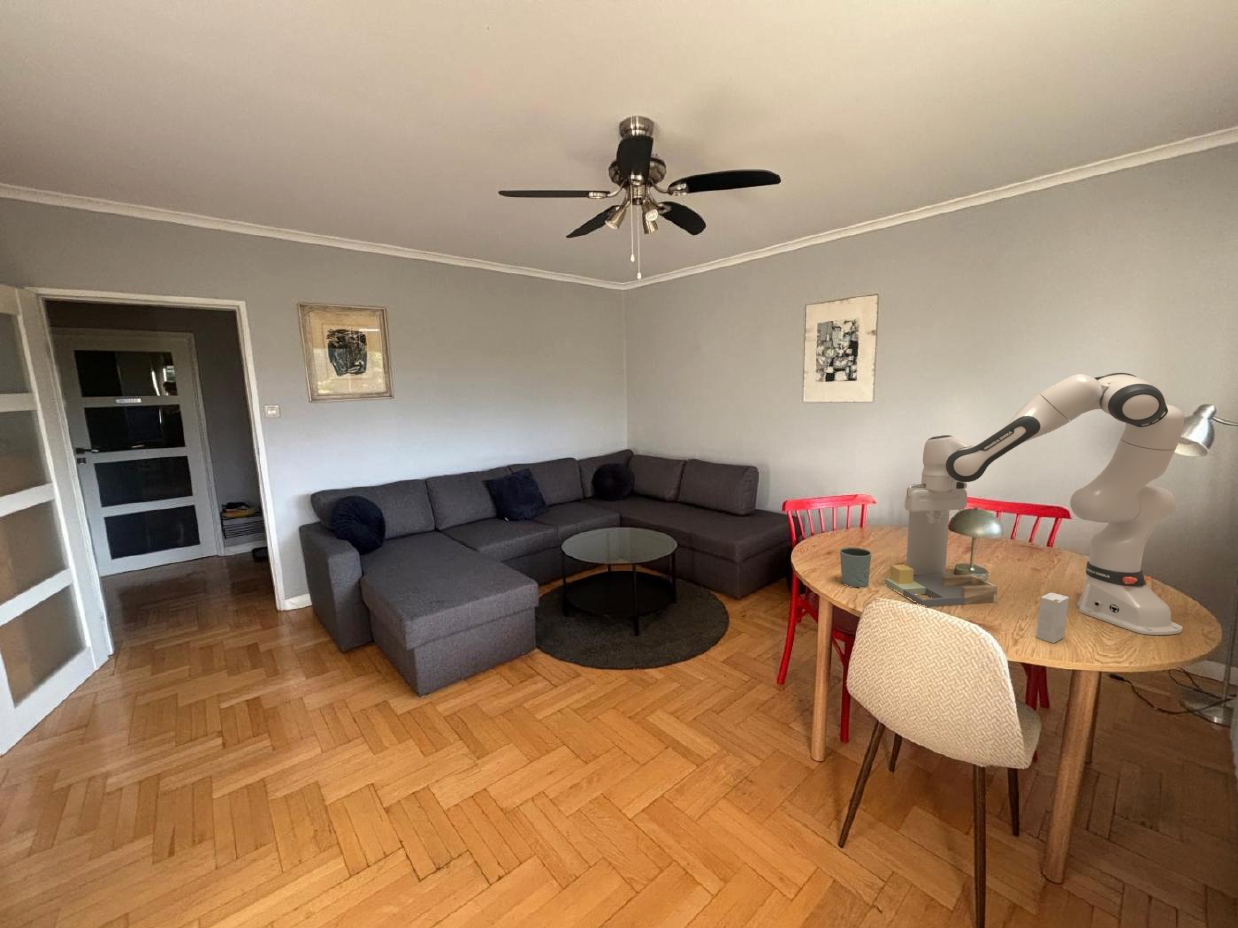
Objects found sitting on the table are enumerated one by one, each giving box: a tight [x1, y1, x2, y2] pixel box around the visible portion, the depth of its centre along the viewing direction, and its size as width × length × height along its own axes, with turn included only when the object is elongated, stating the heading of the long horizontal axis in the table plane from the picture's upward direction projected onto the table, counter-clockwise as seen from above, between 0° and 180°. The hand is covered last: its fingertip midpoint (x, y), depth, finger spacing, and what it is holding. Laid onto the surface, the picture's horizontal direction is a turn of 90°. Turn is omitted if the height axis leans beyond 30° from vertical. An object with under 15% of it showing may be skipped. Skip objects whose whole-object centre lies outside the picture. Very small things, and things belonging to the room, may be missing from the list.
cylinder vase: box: [905, 510, 951, 576], centre depth 183 cm, size 12×12×25 cm
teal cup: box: [839, 546, 872, 588], centre depth 177 cm, size 10×10×12 cm
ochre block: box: [889, 563, 914, 584], centre depth 172 cm, size 5×5×5 cm
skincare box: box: [1035, 592, 1070, 644], centre depth 135 cm, size 6×4×12 cm
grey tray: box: [884, 573, 997, 608], centre depth 167 cm, size 19×26×2 cm
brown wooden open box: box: [942, 573, 998, 605], centre depth 163 cm, size 10×11×5 cm
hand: (934, 523), depth 168 cm, fingers closed
